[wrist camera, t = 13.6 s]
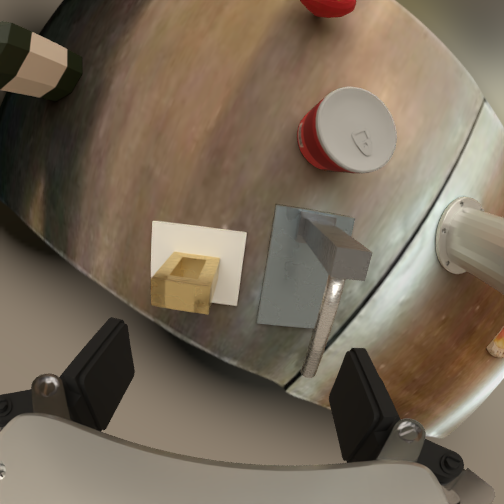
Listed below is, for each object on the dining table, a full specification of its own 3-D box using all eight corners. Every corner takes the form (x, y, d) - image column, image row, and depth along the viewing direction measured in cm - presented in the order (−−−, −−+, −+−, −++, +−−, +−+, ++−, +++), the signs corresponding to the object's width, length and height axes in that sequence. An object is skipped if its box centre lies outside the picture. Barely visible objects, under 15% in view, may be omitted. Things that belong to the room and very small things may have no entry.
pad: (246, 232, 34) (246, 233, 34) (236, 303, 37) (236, 305, 36) (154, 220, 34) (152, 221, 33) (152, 291, 36) (151, 292, 36)
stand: (351, 216, 34) (409, 248, 20) (324, 324, 38) (353, 393, 24) (275, 203, 33) (294, 229, 19) (256, 318, 38) (259, 392, 24)
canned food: (324, 183, 32) (357, 191, 22) (281, 134, 31) (297, 117, 20) (366, 147, 31) (412, 141, 20) (326, 98, 29) (358, 71, 19)
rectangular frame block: (220, 257, 34) (210, 287, 26) (217, 279, 35) (208, 314, 27) (173, 251, 34) (150, 278, 26) (173, 273, 35) (151, 305, 26)
